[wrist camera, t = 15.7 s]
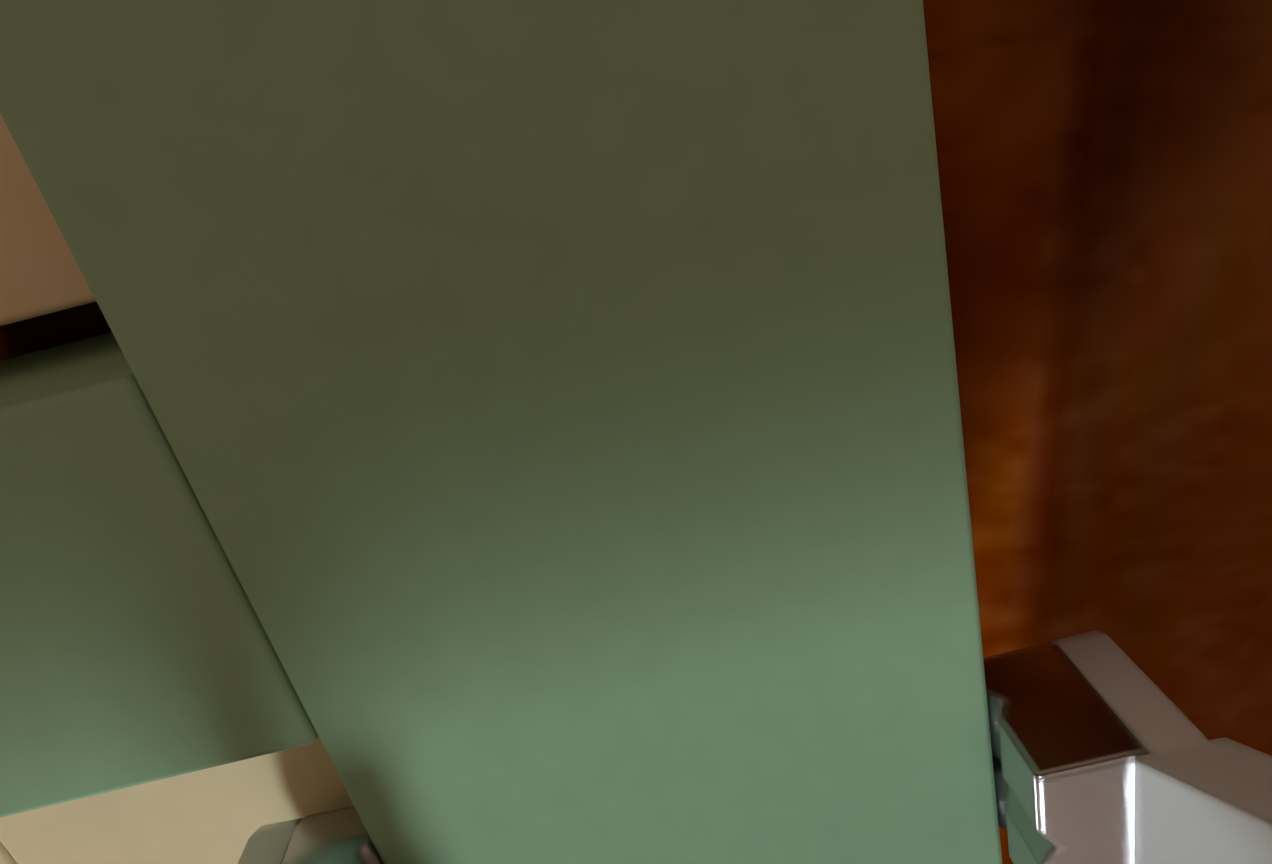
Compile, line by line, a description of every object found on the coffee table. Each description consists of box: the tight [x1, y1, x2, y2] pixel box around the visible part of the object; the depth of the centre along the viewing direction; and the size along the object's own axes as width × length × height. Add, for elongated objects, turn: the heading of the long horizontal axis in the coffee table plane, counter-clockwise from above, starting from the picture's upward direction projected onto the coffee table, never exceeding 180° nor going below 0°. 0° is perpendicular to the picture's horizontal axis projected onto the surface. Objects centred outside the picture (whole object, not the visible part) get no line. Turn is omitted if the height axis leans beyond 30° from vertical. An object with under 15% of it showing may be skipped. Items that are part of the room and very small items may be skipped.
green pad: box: [0, 0, 1002, 864], centre depth 8 cm, size 12×10×2 cm
